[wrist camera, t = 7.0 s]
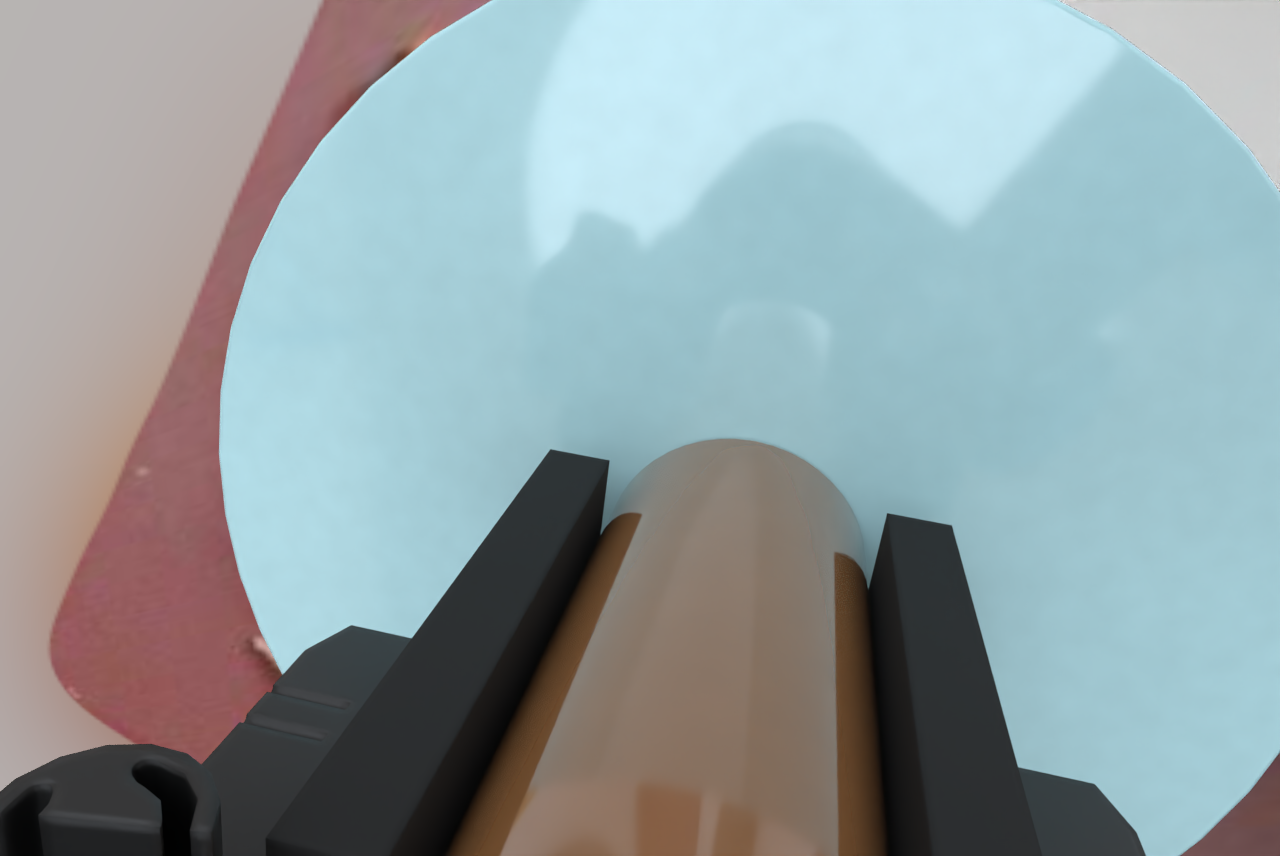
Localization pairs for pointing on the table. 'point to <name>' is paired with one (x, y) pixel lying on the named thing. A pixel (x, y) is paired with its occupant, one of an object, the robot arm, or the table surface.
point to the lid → (783, 400)
